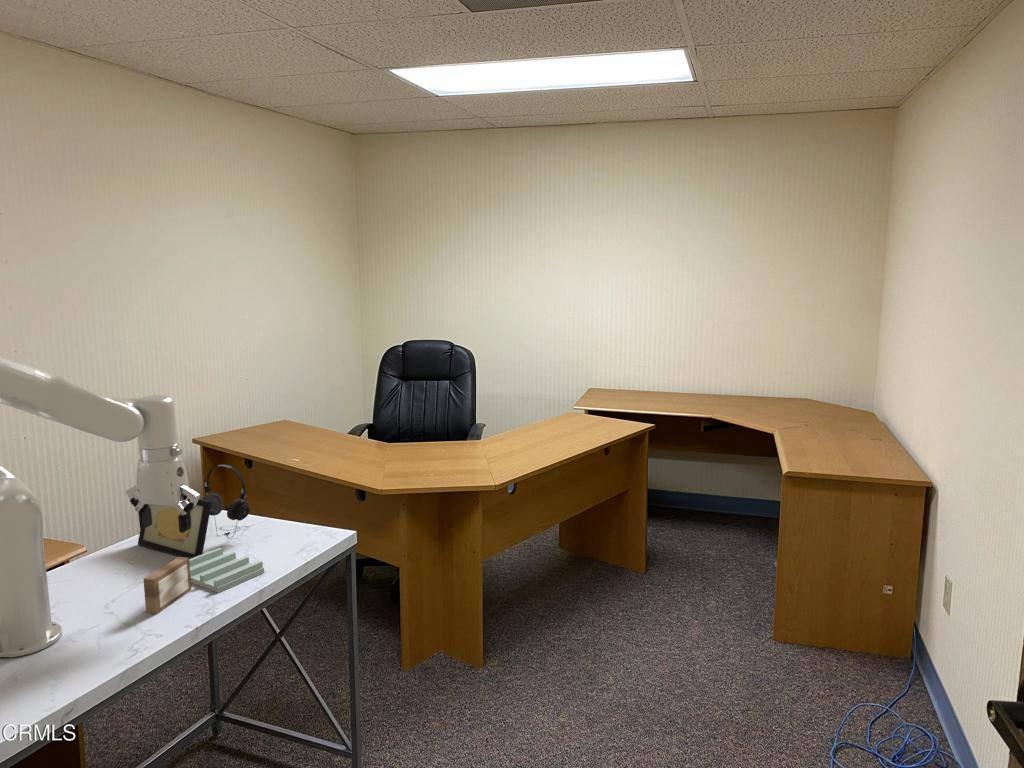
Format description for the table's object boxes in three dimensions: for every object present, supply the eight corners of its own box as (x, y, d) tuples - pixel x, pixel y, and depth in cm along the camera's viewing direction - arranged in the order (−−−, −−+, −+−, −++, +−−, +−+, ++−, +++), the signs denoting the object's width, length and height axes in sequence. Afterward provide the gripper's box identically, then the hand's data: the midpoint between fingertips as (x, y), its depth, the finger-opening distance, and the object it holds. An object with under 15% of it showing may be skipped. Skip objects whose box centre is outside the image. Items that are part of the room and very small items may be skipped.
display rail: (218, 592, 168) (217, 581, 168) (172, 575, 177) (172, 564, 176) (264, 572, 179) (263, 562, 178) (219, 557, 188) (218, 547, 187)
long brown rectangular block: (157, 615, 158) (154, 580, 156) (146, 613, 158) (143, 578, 157) (192, 590, 169) (189, 557, 168) (181, 589, 170) (179, 556, 168)
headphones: (269, 531, 206) (265, 462, 202) (238, 545, 196) (234, 472, 192) (229, 522, 212) (225, 455, 208) (197, 535, 202) (192, 465, 198)
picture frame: (137, 545, 195) (138, 489, 194) (166, 537, 203) (168, 484, 202) (197, 562, 184) (199, 503, 183) (226, 553, 192) (228, 497, 191)
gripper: (205, 450, 160) (211, 525, 163) (135, 446, 163) (142, 519, 166) (183, 460, 153) (190, 538, 156) (111, 455, 156) (119, 532, 159)
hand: (165, 528), depth 161 cm, fingers open, 9 cm apart
